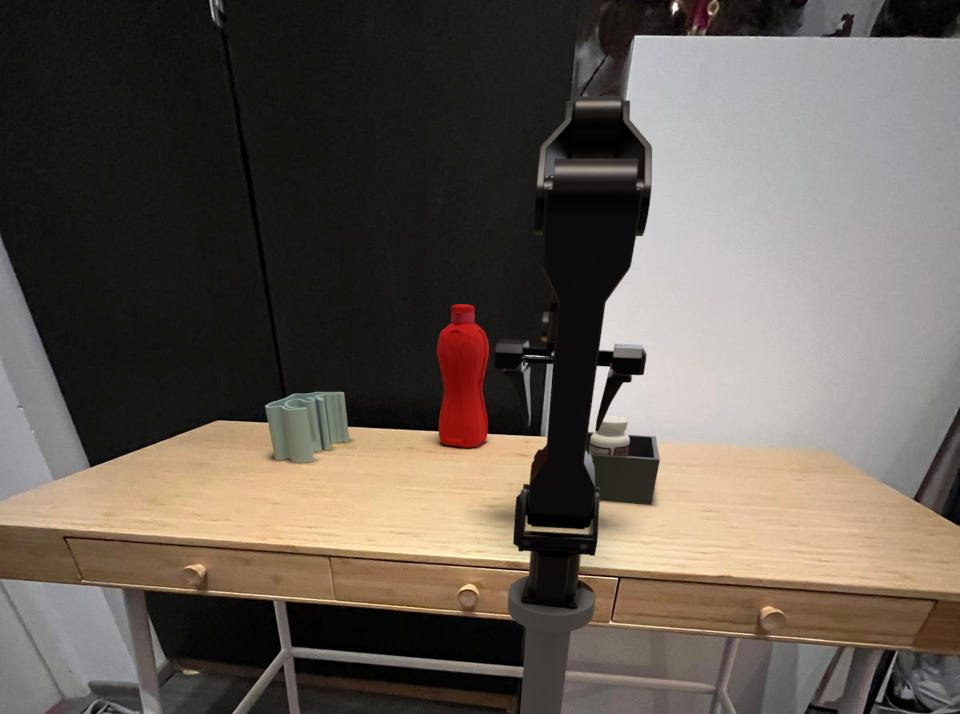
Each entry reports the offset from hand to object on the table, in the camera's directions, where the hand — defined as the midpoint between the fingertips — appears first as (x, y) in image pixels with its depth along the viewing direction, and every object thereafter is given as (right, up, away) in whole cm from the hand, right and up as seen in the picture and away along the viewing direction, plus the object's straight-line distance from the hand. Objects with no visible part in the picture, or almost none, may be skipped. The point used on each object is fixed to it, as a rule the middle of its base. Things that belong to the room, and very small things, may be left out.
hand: (562, 428), depth 75 cm
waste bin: (+11, -2, +21) cm, 23 cm away
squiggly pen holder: (-44, +9, +37) cm, 59 cm away
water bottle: (-14, +13, +44) cm, 48 cm away
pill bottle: (+9, -4, +18) cm, 21 cm away
